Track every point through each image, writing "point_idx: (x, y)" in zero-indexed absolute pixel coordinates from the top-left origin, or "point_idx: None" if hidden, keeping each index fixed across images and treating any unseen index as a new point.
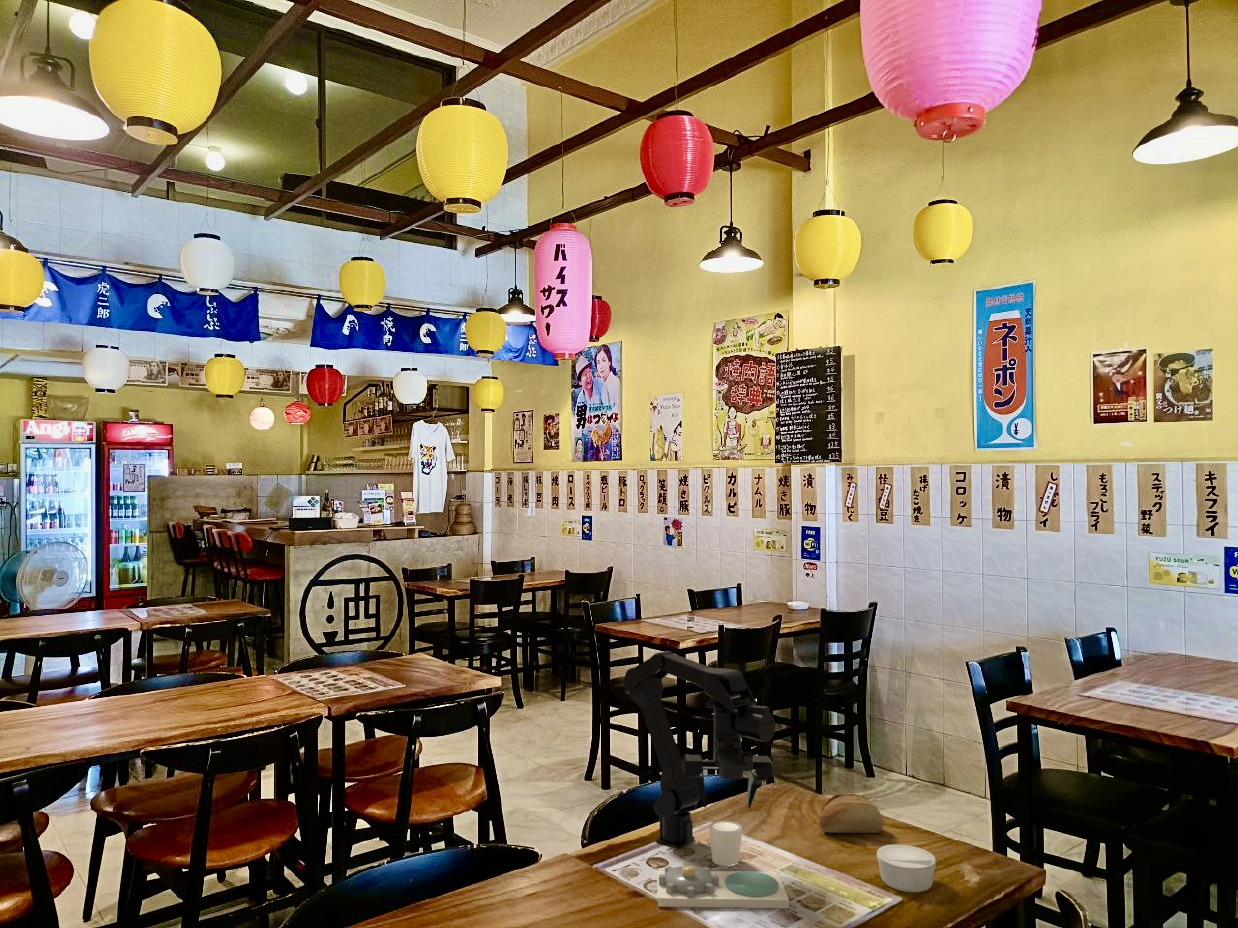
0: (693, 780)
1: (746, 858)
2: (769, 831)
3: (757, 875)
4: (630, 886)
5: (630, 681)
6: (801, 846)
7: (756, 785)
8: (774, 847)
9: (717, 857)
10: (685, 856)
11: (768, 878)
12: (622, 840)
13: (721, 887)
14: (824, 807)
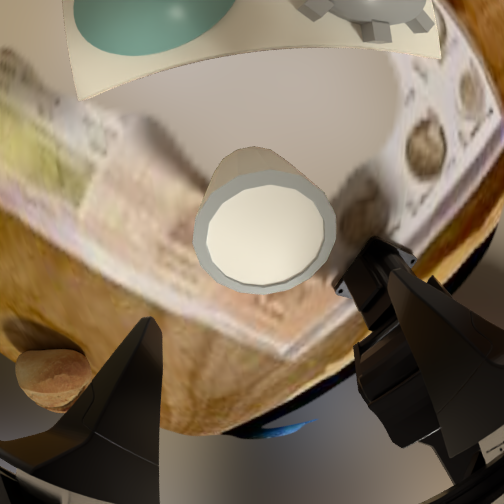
0: (402, 409)
1: (193, 213)
2: (171, 349)
3: (132, 30)
4: (464, 29)
5: None
6: (91, 302)
7: (66, 426)
8: (139, 289)
9: (281, 157)
10: (364, 192)
11: (98, 26)
12: (460, 249)
13: None
14: (81, 393)
